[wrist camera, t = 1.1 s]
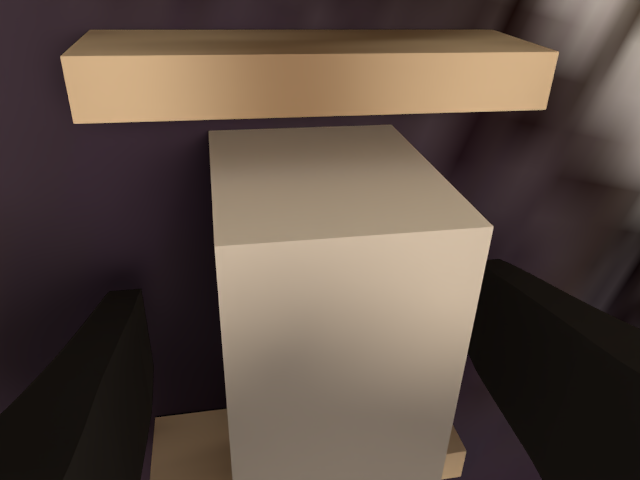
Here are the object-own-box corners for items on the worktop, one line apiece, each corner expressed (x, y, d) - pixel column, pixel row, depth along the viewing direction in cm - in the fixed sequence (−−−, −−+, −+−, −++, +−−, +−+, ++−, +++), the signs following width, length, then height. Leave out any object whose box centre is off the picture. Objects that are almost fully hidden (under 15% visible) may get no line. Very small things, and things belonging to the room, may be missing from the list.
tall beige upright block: (390, 123, 12) (493, 226, 8) (366, 380, 16) (427, 543, 12) (208, 128, 11) (214, 246, 7) (228, 396, 15) (240, 577, 11)
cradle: (491, 29, 11) (558, 51, 9) (427, 407, 17) (460, 476, 15) (89, 29, 10) (59, 55, 8) (159, 442, 15) (153, 524, 13)
